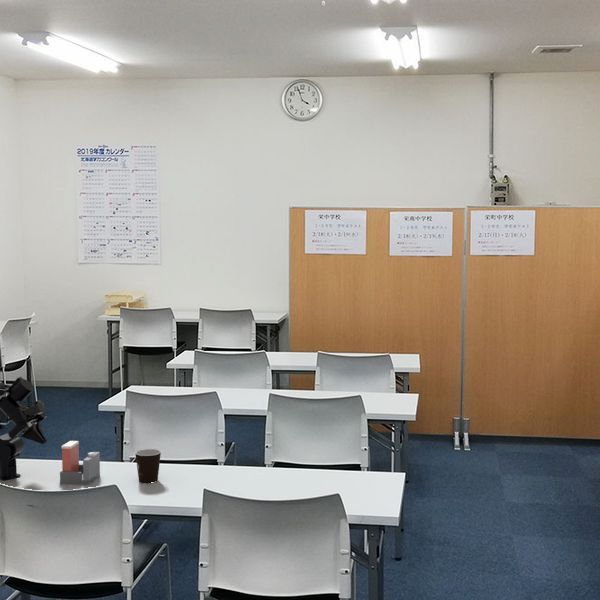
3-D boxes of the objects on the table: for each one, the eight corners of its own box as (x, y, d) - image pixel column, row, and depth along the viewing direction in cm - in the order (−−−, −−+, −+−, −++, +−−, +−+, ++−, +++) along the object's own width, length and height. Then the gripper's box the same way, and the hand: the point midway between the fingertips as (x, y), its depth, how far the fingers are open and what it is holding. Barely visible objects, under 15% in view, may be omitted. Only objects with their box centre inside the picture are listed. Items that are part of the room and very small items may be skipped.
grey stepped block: (59, 483, 261) (59, 456, 260) (71, 474, 270) (71, 448, 270) (89, 484, 259) (89, 457, 259) (100, 475, 269) (100, 449, 269)
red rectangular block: (62, 477, 262) (61, 446, 261) (70, 470, 269) (70, 440, 268) (71, 477, 261) (70, 446, 261) (79, 471, 269) (78, 441, 268)
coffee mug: (158, 484, 260) (157, 455, 259) (132, 484, 260) (132, 455, 259) (164, 474, 271) (164, 446, 271) (140, 474, 272) (140, 446, 271)
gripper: (16, 400, 255) (48, 433, 255) (41, 389, 274) (71, 420, 273) (-6, 422, 257) (26, 456, 256) (20, 410, 275) (50, 441, 275)
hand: (44, 442), depth 265 cm, fingers closed
